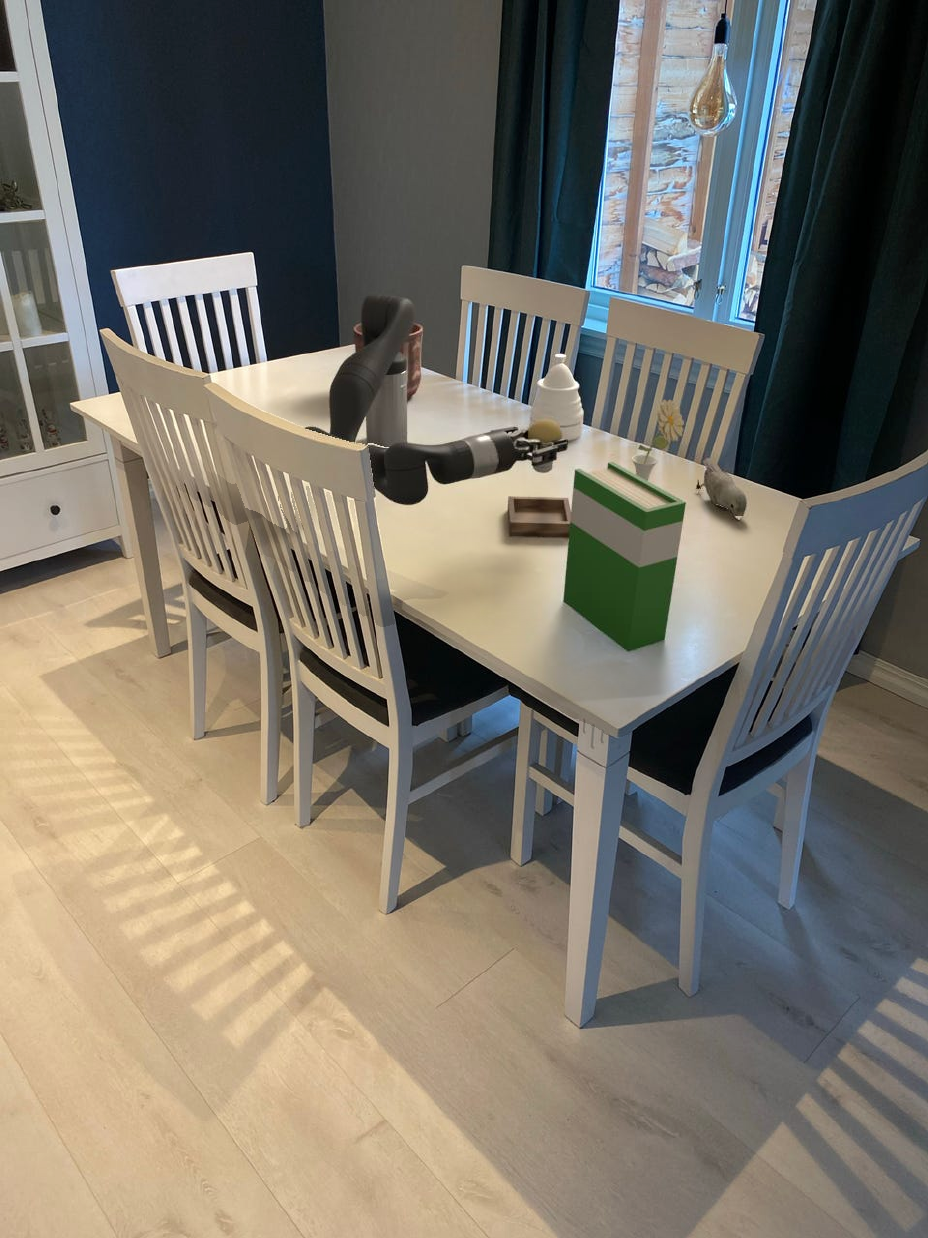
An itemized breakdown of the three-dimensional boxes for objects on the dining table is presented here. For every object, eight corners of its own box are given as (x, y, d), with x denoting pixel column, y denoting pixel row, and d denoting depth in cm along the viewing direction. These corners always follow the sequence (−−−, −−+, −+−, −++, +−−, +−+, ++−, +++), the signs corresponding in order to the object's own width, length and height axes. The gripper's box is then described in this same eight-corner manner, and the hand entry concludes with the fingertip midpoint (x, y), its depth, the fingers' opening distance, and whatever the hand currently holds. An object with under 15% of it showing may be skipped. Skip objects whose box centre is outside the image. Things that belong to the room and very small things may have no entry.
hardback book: (563, 601, 164) (574, 469, 152) (598, 591, 167) (612, 461, 155) (627, 652, 151) (646, 512, 139) (664, 640, 154) (685, 502, 142)
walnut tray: (509, 536, 185) (510, 522, 183) (507, 509, 195) (508, 496, 194) (572, 538, 185) (573, 523, 183) (567, 511, 195) (568, 497, 194)
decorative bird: (728, 523, 193) (734, 488, 189) (690, 491, 206) (695, 458, 202) (751, 521, 194) (758, 486, 190) (712, 489, 207) (718, 456, 203)
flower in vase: (629, 542, 184) (645, 415, 171) (596, 518, 193) (608, 396, 180) (684, 529, 189) (703, 406, 176) (649, 507, 198) (665, 387, 185)
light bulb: (563, 468, 186) (568, 417, 180) (552, 479, 180) (556, 428, 175) (532, 461, 188) (536, 412, 183) (520, 472, 183) (523, 422, 178)
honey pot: (528, 421, 240) (532, 349, 231) (580, 423, 240) (586, 350, 231) (529, 440, 229) (534, 365, 220) (583, 442, 229) (590, 366, 220)
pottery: (420, 408, 246) (421, 337, 237) (352, 406, 246) (349, 335, 237) (424, 387, 261) (424, 319, 252) (359, 385, 261) (357, 317, 252)
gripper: (459, 461, 181) (529, 445, 189) (506, 488, 171) (577, 469, 179) (461, 423, 177) (532, 407, 185) (509, 447, 167) (581, 430, 175)
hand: (554, 438), depth 182 cm, fingers closed on light bulb, 6 cm apart
